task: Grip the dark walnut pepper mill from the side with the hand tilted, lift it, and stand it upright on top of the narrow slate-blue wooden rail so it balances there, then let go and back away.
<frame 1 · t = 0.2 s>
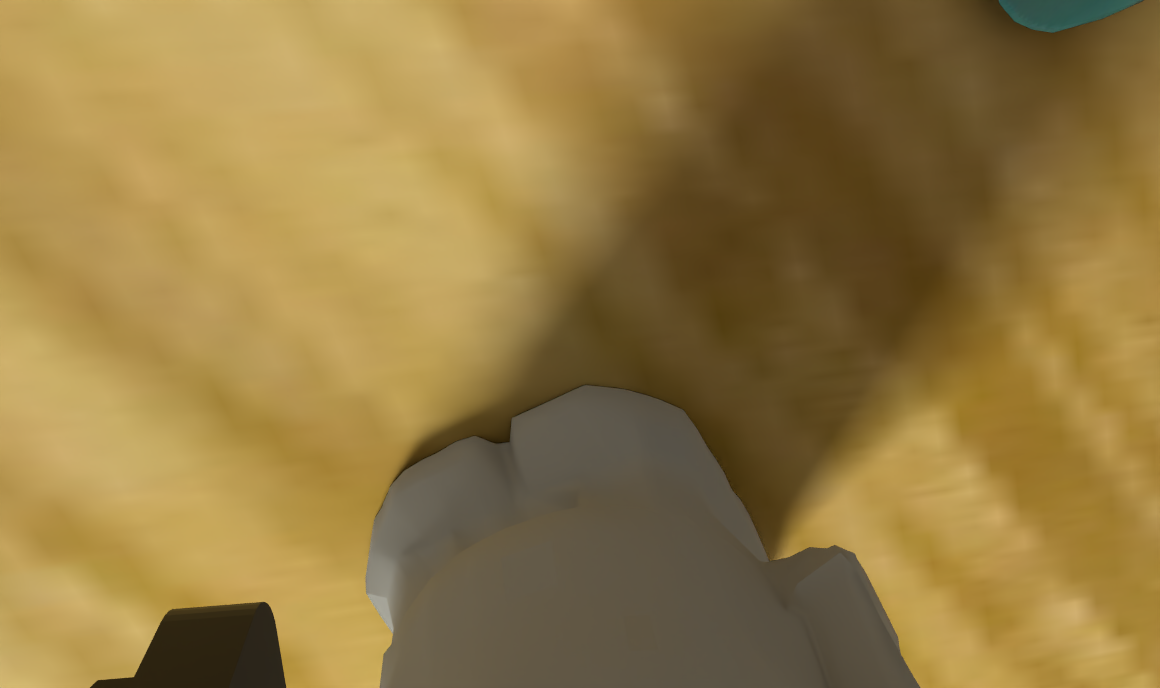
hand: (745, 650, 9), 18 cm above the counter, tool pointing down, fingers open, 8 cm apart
grey moai statue: (566, 546, 30), on the counter
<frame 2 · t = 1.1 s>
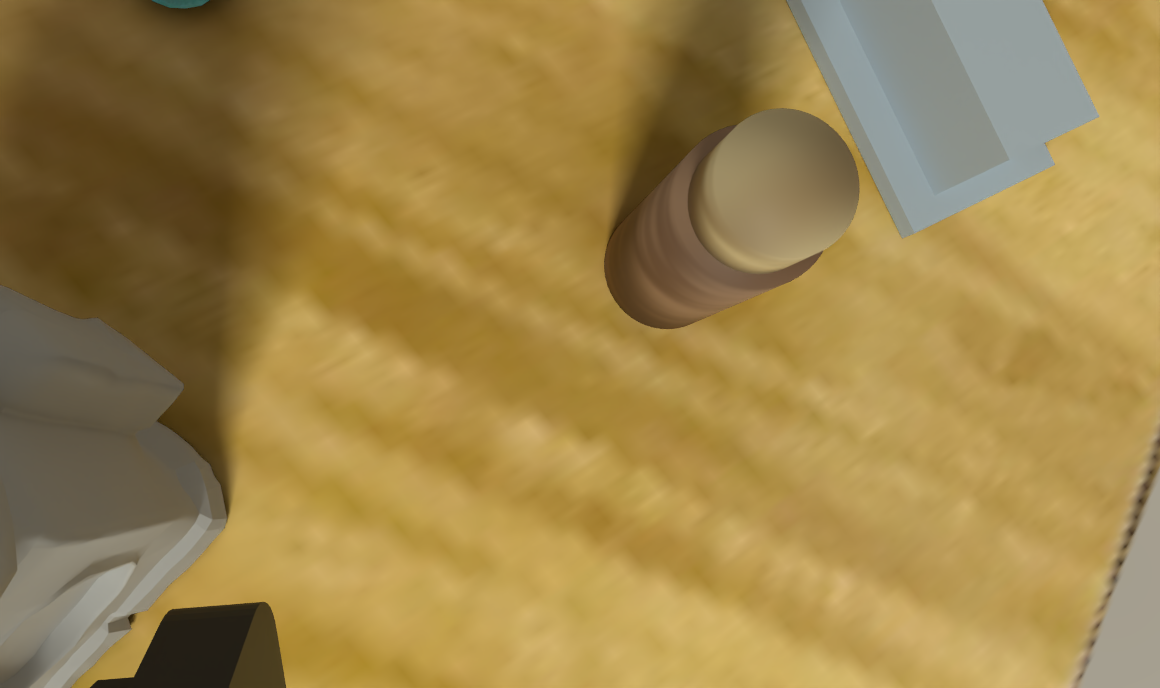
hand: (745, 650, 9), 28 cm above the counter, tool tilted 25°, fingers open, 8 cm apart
grey moai statue: (36, 528, 34), on the counter
pepper mill: (665, 267, 38), on the counter
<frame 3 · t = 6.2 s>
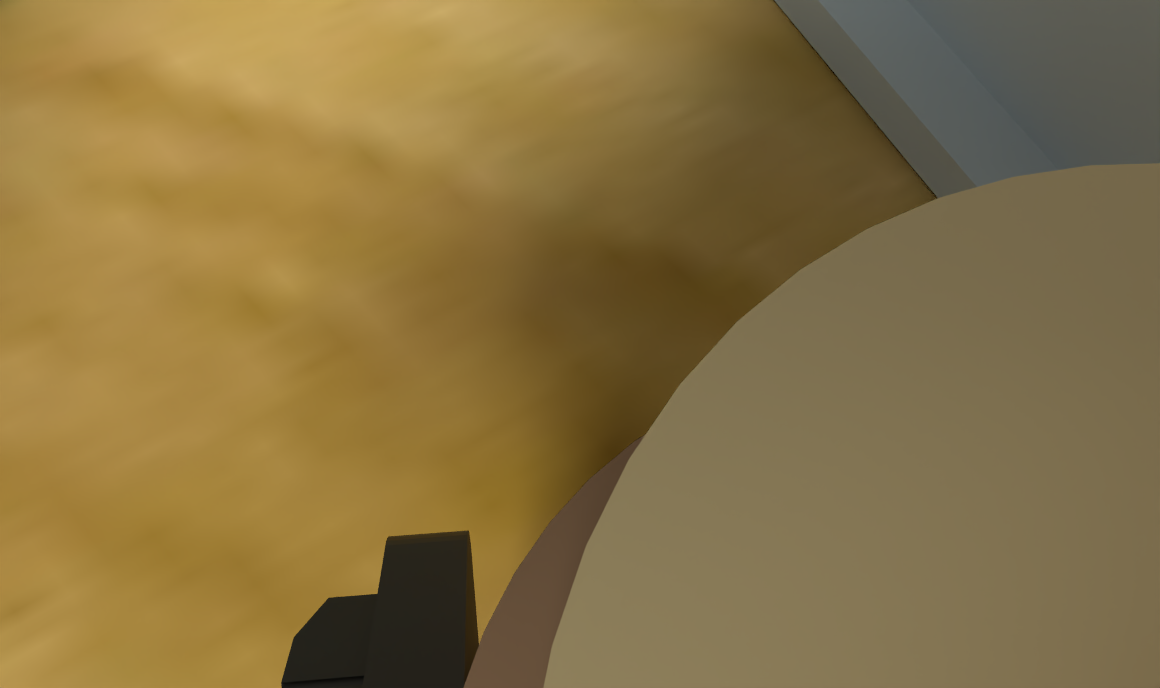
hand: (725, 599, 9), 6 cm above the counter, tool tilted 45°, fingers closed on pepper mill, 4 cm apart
rail: (1051, 90, 19), on the counter
when the fingers open (13 cm above the counter, at t = 10.9 s): pepper mill stays where it is, resting on rail.
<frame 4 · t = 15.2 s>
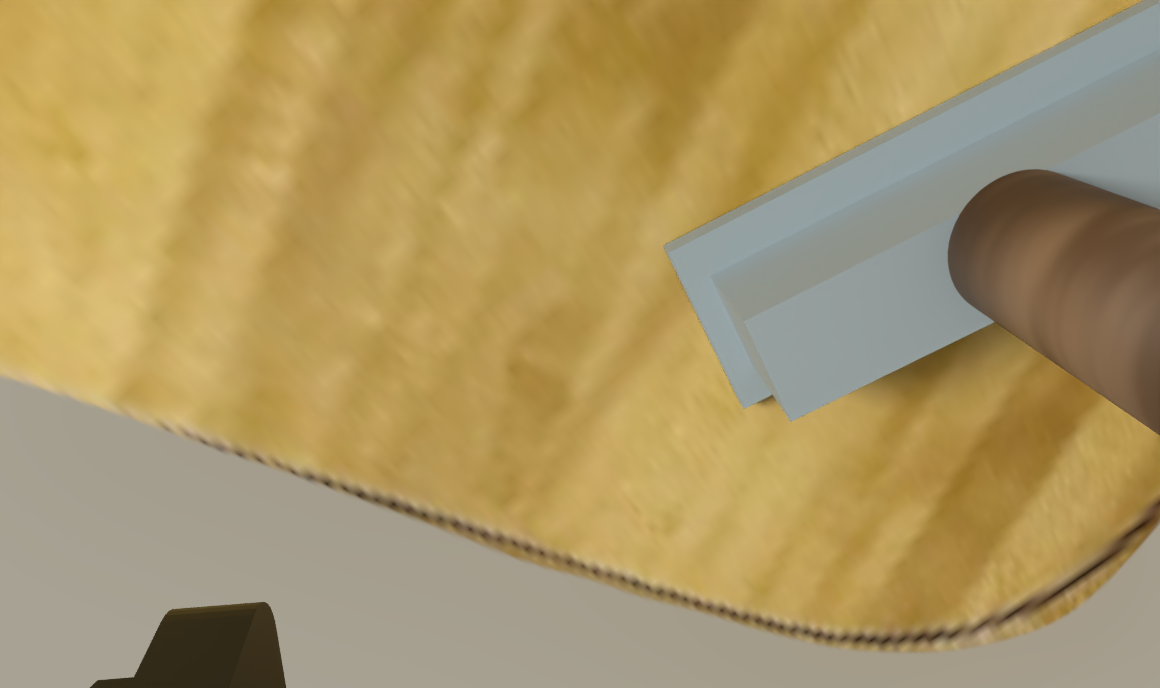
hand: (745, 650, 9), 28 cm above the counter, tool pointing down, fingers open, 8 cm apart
pepper mill: (1021, 244, 31), point 6 cm above the counter, touching rail
rail: (943, 203, 37), on the counter
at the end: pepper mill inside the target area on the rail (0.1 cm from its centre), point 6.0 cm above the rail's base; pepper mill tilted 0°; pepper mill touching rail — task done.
